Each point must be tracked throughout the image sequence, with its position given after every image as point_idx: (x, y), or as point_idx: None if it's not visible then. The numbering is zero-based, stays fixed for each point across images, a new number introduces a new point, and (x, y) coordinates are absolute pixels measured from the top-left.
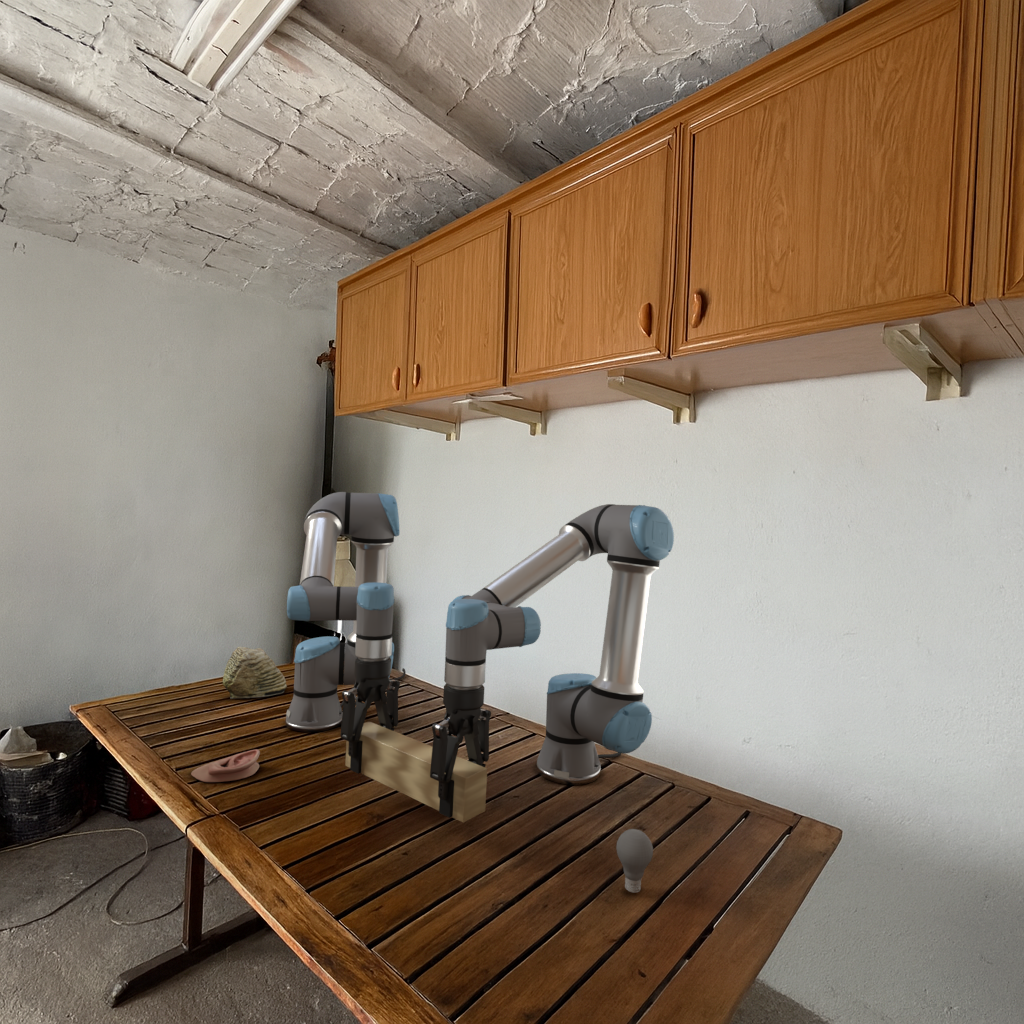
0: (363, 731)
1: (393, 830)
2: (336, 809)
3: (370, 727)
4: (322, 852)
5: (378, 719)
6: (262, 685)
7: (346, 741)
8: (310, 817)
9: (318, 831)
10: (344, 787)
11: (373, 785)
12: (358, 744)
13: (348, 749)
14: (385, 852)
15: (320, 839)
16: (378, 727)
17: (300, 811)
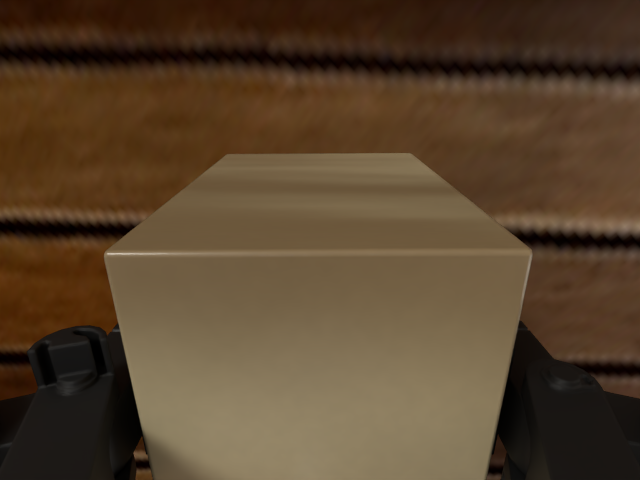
0: (222, 455)
1: None
2: (183, 188)
3: (366, 422)
4: (26, 367)
5: (546, 467)
6: None
7: (172, 198)
8: (73, 169)
9: (60, 270)
10: (322, 37)
11: (426, 124)
12: None
13: (114, 327)
14: None
15: (47, 311)
16: (435, 468)
17: (56, 95)
